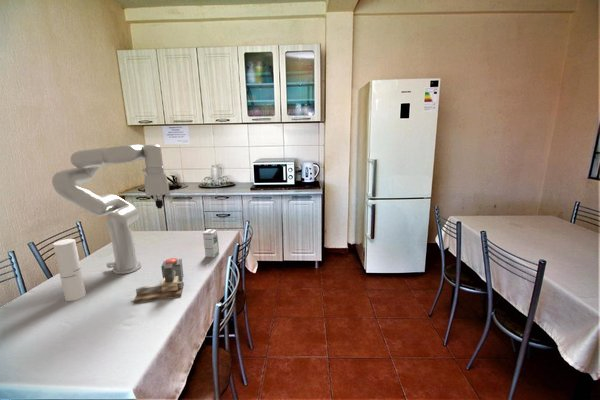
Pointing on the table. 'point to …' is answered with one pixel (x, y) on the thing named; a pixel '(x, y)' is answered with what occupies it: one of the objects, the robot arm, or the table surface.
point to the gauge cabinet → (175, 269)
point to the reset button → (171, 261)
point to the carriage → (169, 279)
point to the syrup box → (211, 243)
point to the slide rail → (156, 293)
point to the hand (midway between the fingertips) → (159, 207)
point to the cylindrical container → (69, 269)
